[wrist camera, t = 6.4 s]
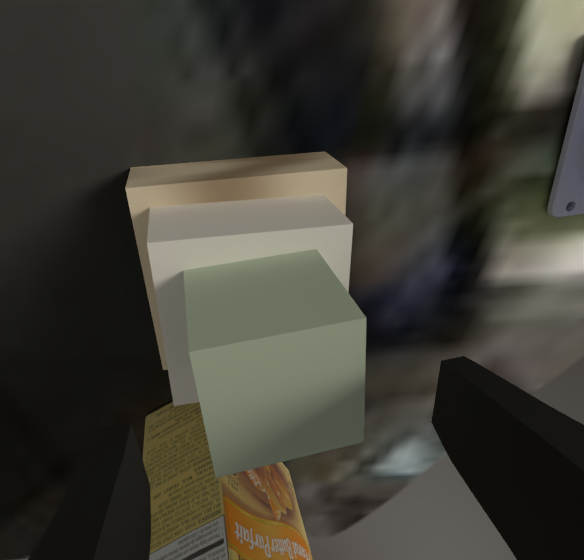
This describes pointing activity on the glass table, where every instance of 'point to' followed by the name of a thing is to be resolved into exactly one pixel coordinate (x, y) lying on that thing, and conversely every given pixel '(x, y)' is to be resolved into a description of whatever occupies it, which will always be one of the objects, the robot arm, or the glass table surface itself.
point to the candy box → (214, 498)
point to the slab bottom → (226, 193)
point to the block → (275, 359)
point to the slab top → (232, 255)
